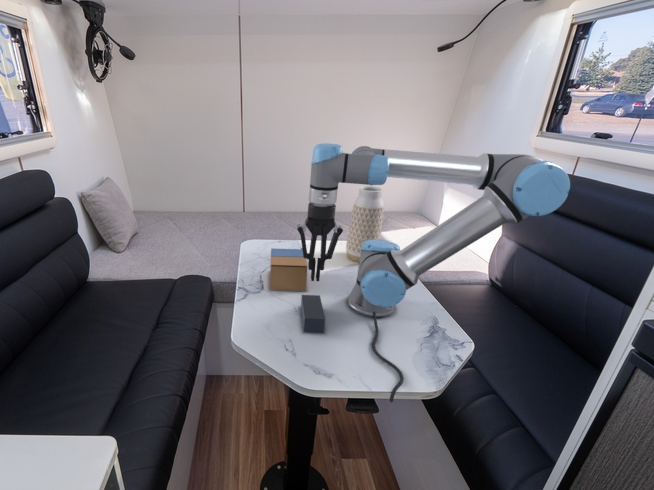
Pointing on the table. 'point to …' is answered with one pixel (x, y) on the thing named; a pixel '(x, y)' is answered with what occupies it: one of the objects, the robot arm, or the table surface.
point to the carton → (288, 273)
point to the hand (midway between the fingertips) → (314, 279)
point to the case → (312, 314)
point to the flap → (287, 252)
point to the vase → (365, 220)
